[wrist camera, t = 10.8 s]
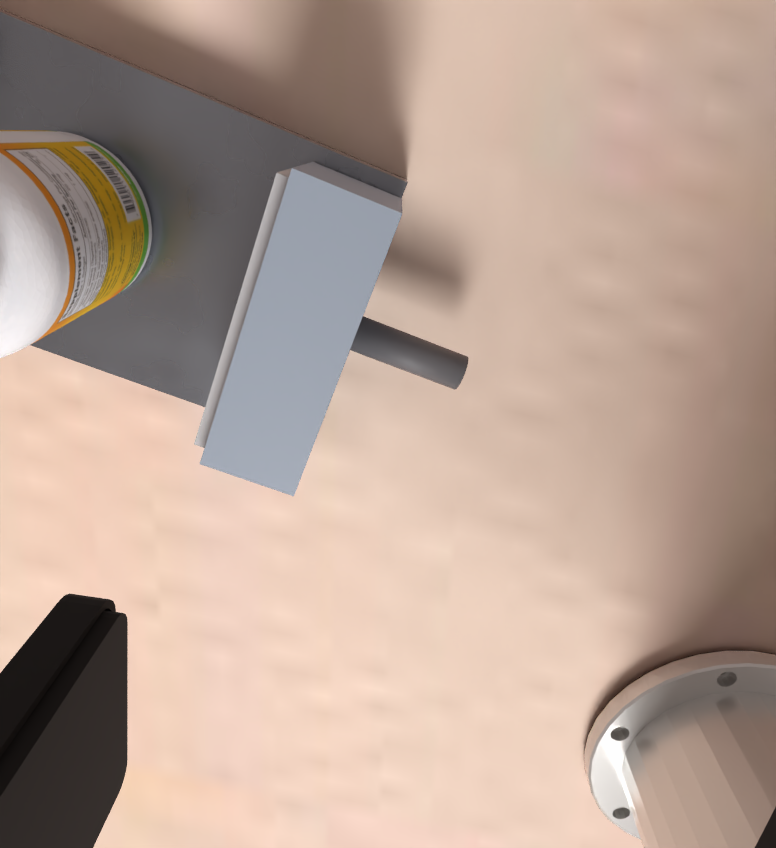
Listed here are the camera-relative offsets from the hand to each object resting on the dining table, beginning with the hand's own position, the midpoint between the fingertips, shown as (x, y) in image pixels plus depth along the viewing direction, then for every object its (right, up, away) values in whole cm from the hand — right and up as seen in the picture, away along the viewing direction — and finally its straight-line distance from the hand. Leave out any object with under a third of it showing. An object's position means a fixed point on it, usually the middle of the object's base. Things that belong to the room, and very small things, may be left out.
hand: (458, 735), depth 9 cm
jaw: (-2, +7, +14) cm, 16 cm away
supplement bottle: (-11, +11, +13) cm, 21 cm away
